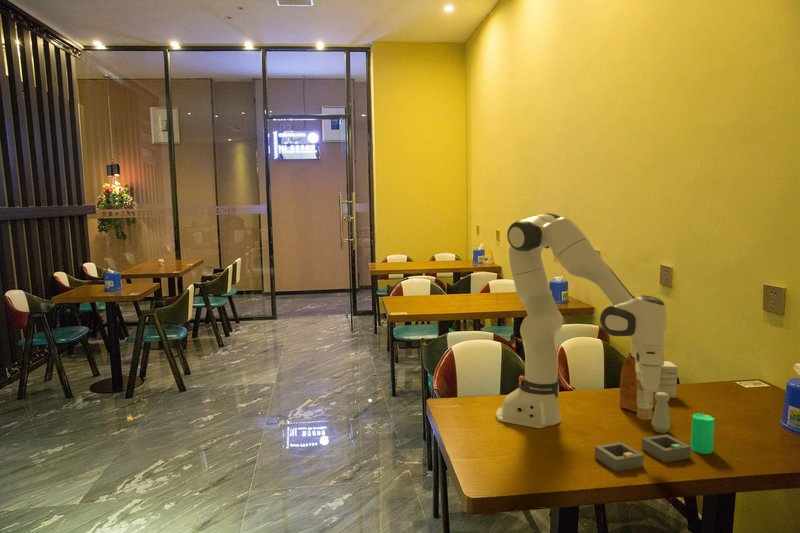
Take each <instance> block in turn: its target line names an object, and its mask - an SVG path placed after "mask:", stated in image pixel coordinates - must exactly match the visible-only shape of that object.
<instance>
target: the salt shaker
mask: <svg viewBox="0 0 800 533" xmlns="http://www.w3.org/2000/svg"><path fill="white" fill-rule="evenodd" d="M655 399H656V400H657V403H656V407H655V408H654V410H653V418H652V419H651V425H652V428H653V430H654V432H656V433H658V434H666V433H668V432H669V430H670V428H671V417H670V409H669V404H668V403H669V401H670V399H671V398H670V397H669V395H668V394H667V393H665V392H657V393H656V394H655Z"/></svg>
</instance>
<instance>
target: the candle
mask: <svg viewBox="0 0 800 533" xmlns="http://www.w3.org/2000/svg"><path fill="white" fill-rule="evenodd" d="M691 418H692V419H691V437H690V438H691V439H690V446H691V450H692V451H693V452H695V453H699V454H703V455H704V454H705V455H709V454H712V453H714V438H715V437H714V436H715V434H714V433H715V418H714V417H712V416H711V415H710V414H705V412H704V411H703V413H700V412H697V413H693V414H692V417H691Z"/></svg>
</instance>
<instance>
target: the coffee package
mask: <svg viewBox="0 0 800 533" xmlns="http://www.w3.org/2000/svg"><path fill="white" fill-rule="evenodd" d="M635 366H636V362H635V358H634V357H632V356H631V352H629V354H628V355H627V357H626V358H625V360H624V362H623V364H622V366H621V372H620V380H619V381H620V382H619V408H620V409H625V410H629V411H631V412H635V413H637V373H636V370H635ZM656 393H657V392H653V409H655V407H656V403H657V400H656V399H655V394H656Z"/></svg>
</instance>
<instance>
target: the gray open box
mask: <svg viewBox="0 0 800 533" xmlns="http://www.w3.org/2000/svg"><path fill="white" fill-rule="evenodd" d="M644 457H645V455H644V454H643V453H641V452H640V451H637V449H634V448H633V447H631V446H629V445H627V444H626V443H624V442H622V441H620V442H619V441H618V442H614V443H613V442H612V443H607V444H601V445H594V458H595V459H596V460H598V461H599V462H601V463H602V464H603V465H605V466H607V467H608V468H610V469H612V470H613V471H614V472H621V471H626V470H633V469H637V468H644V460H645V459H644Z"/></svg>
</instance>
